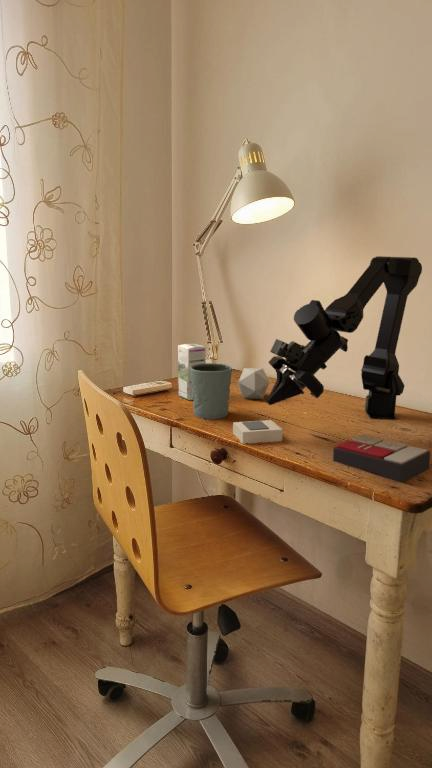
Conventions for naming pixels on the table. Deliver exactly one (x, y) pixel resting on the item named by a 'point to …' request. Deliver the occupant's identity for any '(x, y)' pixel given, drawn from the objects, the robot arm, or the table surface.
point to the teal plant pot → (211, 389)
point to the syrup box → (188, 367)
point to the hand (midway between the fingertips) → (268, 403)
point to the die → (253, 383)
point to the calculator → (383, 457)
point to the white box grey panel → (257, 431)
